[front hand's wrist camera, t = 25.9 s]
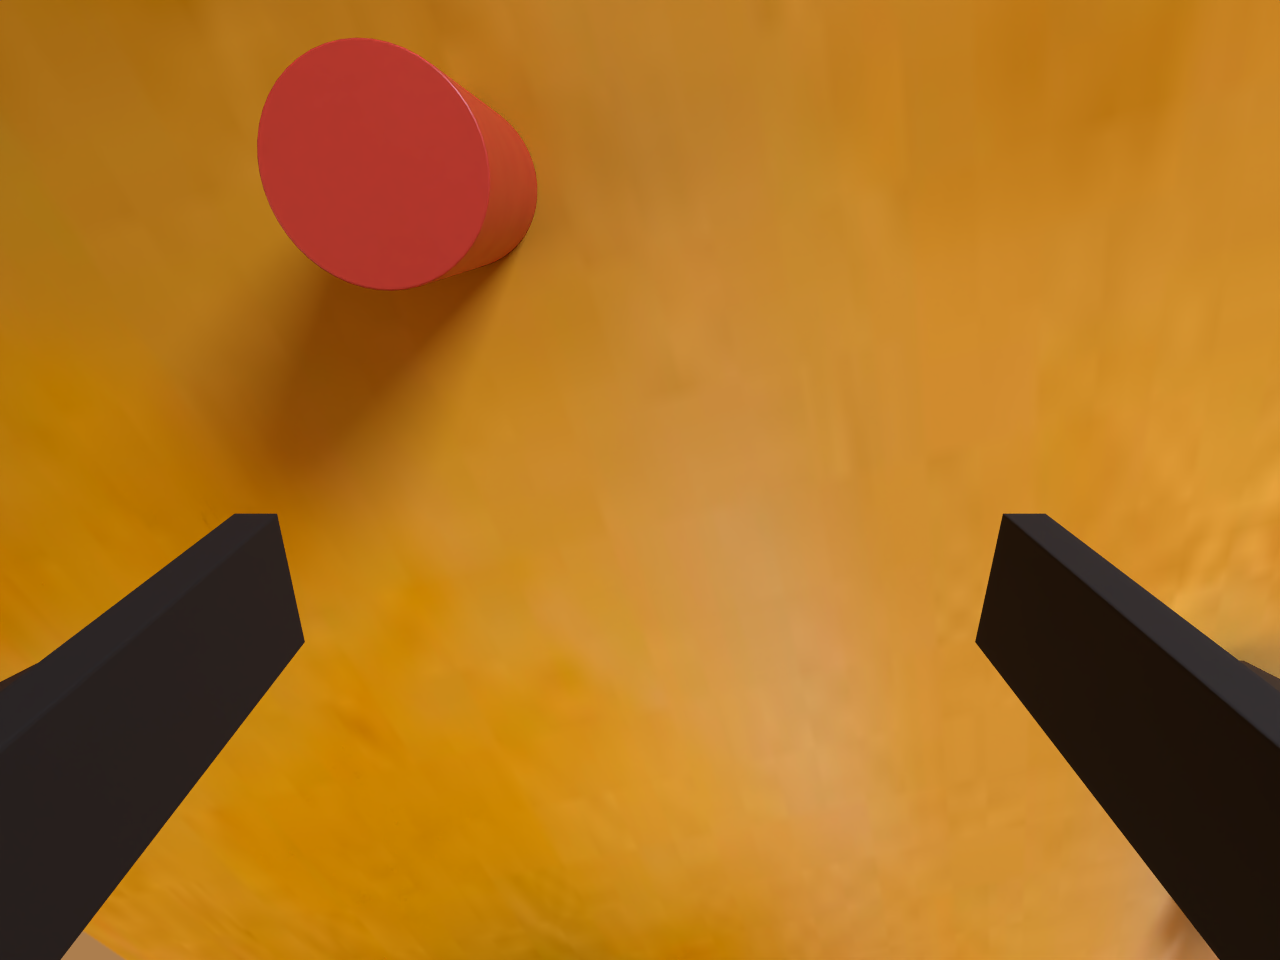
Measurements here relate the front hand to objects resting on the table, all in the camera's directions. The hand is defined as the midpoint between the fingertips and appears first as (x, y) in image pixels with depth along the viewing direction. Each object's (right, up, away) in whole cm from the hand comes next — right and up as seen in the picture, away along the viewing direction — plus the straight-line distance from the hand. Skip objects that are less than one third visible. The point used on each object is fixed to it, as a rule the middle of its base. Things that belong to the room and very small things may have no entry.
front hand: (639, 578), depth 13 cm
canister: (-7, +14, +15) cm, 22 cm away
